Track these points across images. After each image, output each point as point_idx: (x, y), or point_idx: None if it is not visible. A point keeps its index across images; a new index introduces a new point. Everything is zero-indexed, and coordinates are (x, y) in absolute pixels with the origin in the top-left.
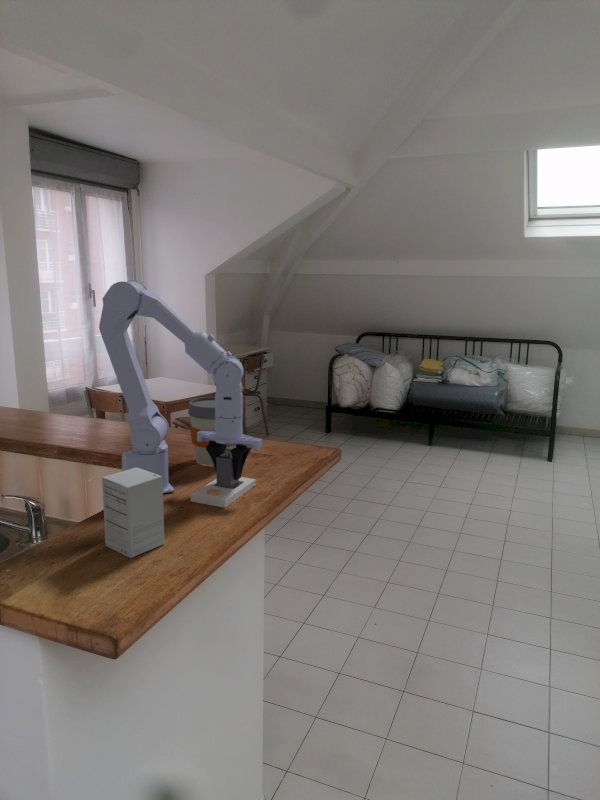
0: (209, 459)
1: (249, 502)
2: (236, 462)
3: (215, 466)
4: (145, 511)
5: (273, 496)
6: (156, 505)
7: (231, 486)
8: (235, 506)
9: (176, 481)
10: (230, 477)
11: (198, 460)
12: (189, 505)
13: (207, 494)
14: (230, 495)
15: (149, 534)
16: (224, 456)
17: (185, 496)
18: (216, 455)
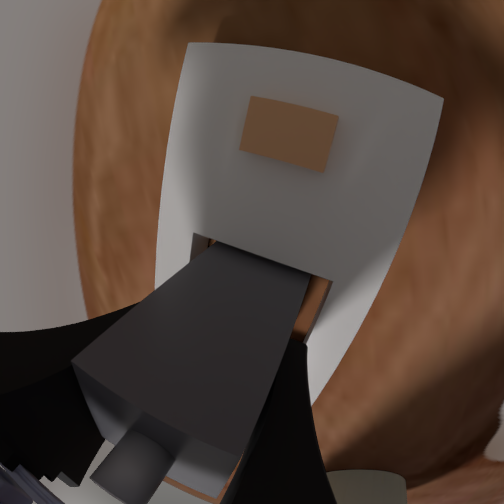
0: (367, 490)
1: (129, 156)
2: (63, 337)
3: (298, 396)
4: None
5: (87, 239)
6: None
7: (206, 253)
8: (168, 88)
9: (499, 369)
10: (177, 276)
11: (401, 486)
12: (413, 47)
13: (329, 107)
14: (179, 126)
15: None
16: (170, 453)
17: (474, 185)
18: (239, 482)
